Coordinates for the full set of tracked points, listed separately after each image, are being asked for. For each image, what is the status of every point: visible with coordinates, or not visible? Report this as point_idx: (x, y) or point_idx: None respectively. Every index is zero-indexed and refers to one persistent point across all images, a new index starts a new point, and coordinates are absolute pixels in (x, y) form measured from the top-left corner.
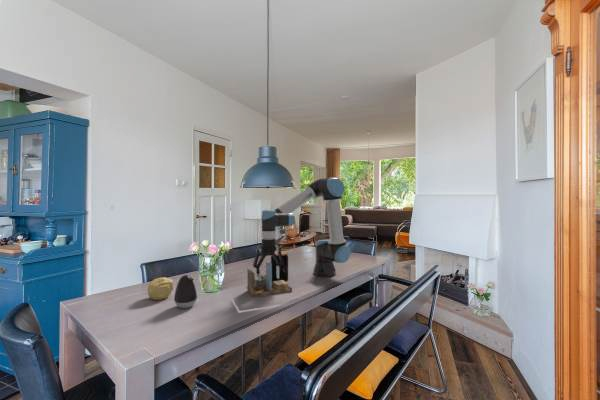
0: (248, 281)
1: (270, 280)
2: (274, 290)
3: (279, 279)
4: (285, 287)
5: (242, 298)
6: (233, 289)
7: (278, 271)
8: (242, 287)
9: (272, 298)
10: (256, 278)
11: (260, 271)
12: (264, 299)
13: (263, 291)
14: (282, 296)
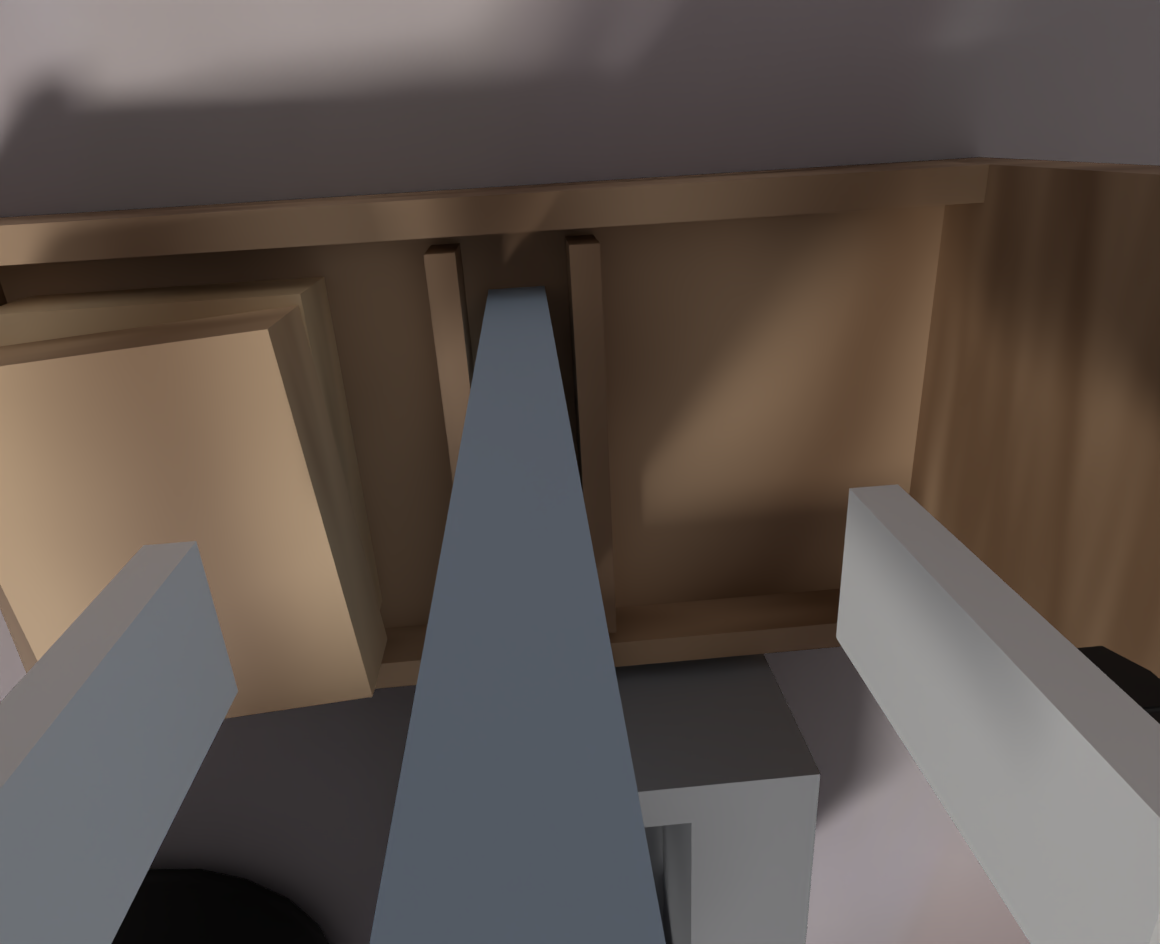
0: None
1: (525, 375)
2: (389, 442)
3: (175, 940)
4: (64, 334)
5: None
6: None
7: (16, 733)
8: (907, 837)
9: (530, 5)
10: (764, 894)
11: (1076, 709)
12: (738, 7)
13: (650, 455)
14: (246, 65)
